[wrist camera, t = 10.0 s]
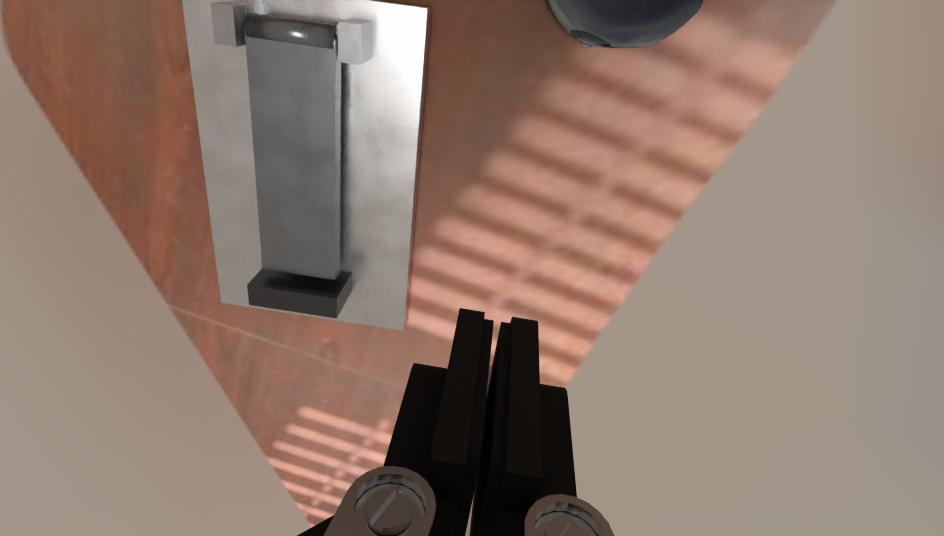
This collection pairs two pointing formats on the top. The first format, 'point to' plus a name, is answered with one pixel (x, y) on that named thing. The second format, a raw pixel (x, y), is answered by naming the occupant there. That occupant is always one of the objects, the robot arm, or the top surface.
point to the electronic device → (622, 20)
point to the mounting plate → (361, 163)
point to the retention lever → (296, 142)
